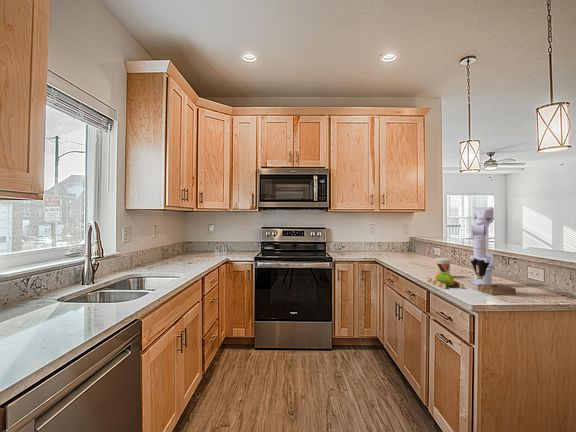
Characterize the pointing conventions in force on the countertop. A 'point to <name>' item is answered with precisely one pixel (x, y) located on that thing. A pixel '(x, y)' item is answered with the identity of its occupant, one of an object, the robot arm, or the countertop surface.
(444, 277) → the green orange papaya
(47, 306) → the countertop surface
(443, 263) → the coffee cup
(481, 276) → the peg
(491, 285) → the walnut block
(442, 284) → the chock rails
